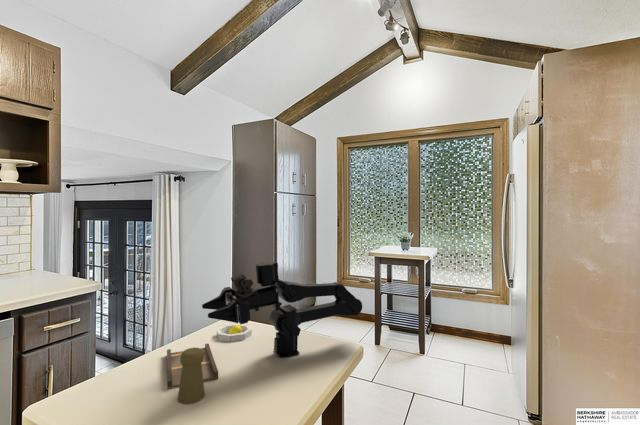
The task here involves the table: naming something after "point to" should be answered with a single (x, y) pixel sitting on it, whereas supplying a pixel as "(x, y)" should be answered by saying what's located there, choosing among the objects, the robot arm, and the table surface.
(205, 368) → the channel board
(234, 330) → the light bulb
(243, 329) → the white dish rim
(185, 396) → the olive pawn shaped piece
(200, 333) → the table surface
